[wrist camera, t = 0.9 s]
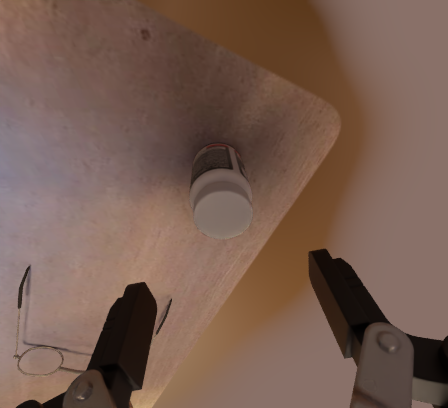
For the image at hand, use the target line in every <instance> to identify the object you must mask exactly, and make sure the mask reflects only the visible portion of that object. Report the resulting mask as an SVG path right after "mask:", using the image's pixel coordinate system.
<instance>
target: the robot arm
mask: <svg viewBox="0 0 448 408" xmlns="http://www.w3.org/2000/svg"><path fill="white" fill-rule="evenodd" d="M308 256H309V277H310V281H311V284H312V287H313V289H314V291H315V293H316V296H317V298H318V300H319V302H320V305H321V307H322V309H323V311H324V313H325V316H326V318H327V320H328V323H329V325H330V327H331V329H332V331H333V334H334V336H335V338H336V341H337V343H338V345H339V347H340V349H341V352H342V354H343V356H344V358H351V357H353V359H354V361H355V363H356V365H357V373H356V378H355V383H354V388H353V393H352V399H351V403H350V408H411V405H412V399H413V400H417V401H421V402H426V403H430V404H432V405H433V407H434V408H448V336H447V337H446V338H445V339H444V340H443V341H441V340H434V339H428V338H422V337H416V336H412V335H409V334H406V333H404V332H402V331H401V330H400V329H398V328H397V327H395V326H393V325H392V324H391V323H390V322H389V321H388V320H387V319H386V318H385V316H384V314H383V313H382V311H381V310H380V309H379V307H378V305H377V304H376V302H375V301H374V300H373V298H372V296H371V295H370V293H369V292H368V290H367V289H366V288H365V286H363V283H362V282H361V280H360V279H359V278H358V276H357V274H356V273H355V271H354V270H353V269H352V267H351V265H349V264H348V263H346V262H345V261H344V260H343V259H341V258H336V259H332V257H331V256H330V254H329V253H328V251H327V250H326V249H320V250H315V251H310V252H309V255H308ZM156 315H157V304H156V300H155V299H154V297H153V295H152V293H151V292H150V290H149V288H148V287H147V285H146V283H145V282H140V283H135V284H130V285H128V286H127V287H126V289H125V292H124V295H123V297H121V298H118V299H117V300H116V302H115V303H114V304H113V306H112V307H111V308H110V311H109V313H108V316H107V319H106V322H105V324H104V326H103V331H101V334H100V337H99V339H98V342H97V344H96V347H95V350H94V352H93V355H92V357H91V360H90V363H89V365H88V367H87V370H86V371H85V372H84V373H82V374H81V375H79V376H78V377H77V378H76V379H75V380H74V381H73V382H72V383H71V385H70V386H69V388H68V389H67V391H66V392H64V393H62V394H60V395H58V396H56V397H55V398H53V399H51V400H49V401H47V402H45V403H43V404H41V403H39V402H37V401H35V400H28V401H25V402H23V403H22V404H20V405H18V406H17V407H16V408H133V406H132V404H131V402H130V397H131V393H132V391H135V390H141V389H142V385H143V380H144V375H145V370H146V365H147V360H148V355H149V350H150V345H151V340H152V335H153V330H154V325H155V320H156Z"/></svg>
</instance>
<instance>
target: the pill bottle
mask: <svg viewBox="0 0 448 408" xmlns="http://www.w3.org/2000/svg"><path fill="white" fill-rule="evenodd" d="M189 200H190V205H191V208H192V210H193V219H194V222H195V225H196V227H197V228H198V229H199V230H200V231H201V232H202V233H203V234H205V235H206V236H208V237H211V238H214V239H230V238H233V237H236V236H238V235H240V234H242V233H243V232H244V231H245V230H246V229H247V228H248V227H249V225H250V224H251V221H252V218H253V209H252V205H251V202H252V190H251V186H250V183H249V180H248V177H247V174H246V171H245V168H244V165H243V162H242V159H241V157H240V155H239V153H238V152H237V151H236V150H235V149H234V148H232V147H231V146H229V145H226V144H221V143H215V144H210V145H208V146H206V147H204V148H203V149H201V150H200V151H199V152H198V153H197V155H196V157H195V159H194V162H193V167H192V177H191V185H190V194H189Z"/></svg>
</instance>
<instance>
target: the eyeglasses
mask: <svg viewBox="0 0 448 408" xmlns="http://www.w3.org/2000/svg"><path fill="white" fill-rule="evenodd" d="M29 268H30V266H28V268H27V269H26V272H25V274H24V277H23V279H22V282H21V284H20V287H19V295H18V309H19V312H18V327H17V342H16V354H15V355H14V357H13V358H14V359H17V358H18V359H19V360H18V364H17V366H18V370H19V371H20V372H22V373H23V374H25V375H28V376H36V377H42V376H48V375H51V374H53V373H55V372H56V371H58V370H59V371H63V372H68V373H73V374H82V373H84V372H85V371H81V370H74V369H69V368H64V367H61V365H62V364H63V360H64V359H63V355H62V353H61V352H60V351H59V350H57V349H55V348H52V347H44V346H42V347H34V348H30V349H28V350H27V351H25V352H24V353H23V354H22V355H21V356H19V355H17V345H18V331H19V317H20V308H21V304H22V292H23V285H24V282H25V279H26V276H27V273H28V271H29ZM171 302H172V299H171V301H170V303H169V306H168V309H167V311H166V314H165V316H164V318H163V320H162V322H161V324H160V326H159V328H158V330H157V332H156V335H157V334H158V332H159V331H160V329H161V327H162V325H163V323H164V321H165V319H166V317H167V314H168V311H169V308H170V305H171ZM156 335H155V337H156ZM155 337H154V338H153V340H154V339H155ZM153 340H152V342H153ZM152 342H151V344H152ZM150 346H151V345H150ZM38 348H47V349H52V350H55V351H57V352H58V353H59V354H60V355H61V357H62V362H61V365H60V366H59V367H58V369H57V370H55V371H54V372H52V373H49V374H45V375H35V374H28V373H25V372H23V371H22V370H21V369H20V368H19V362H20V360H21V358H22V357H23V355H24V354H25V353H27V352H28V351H30V350H33V349H38Z"/></svg>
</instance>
